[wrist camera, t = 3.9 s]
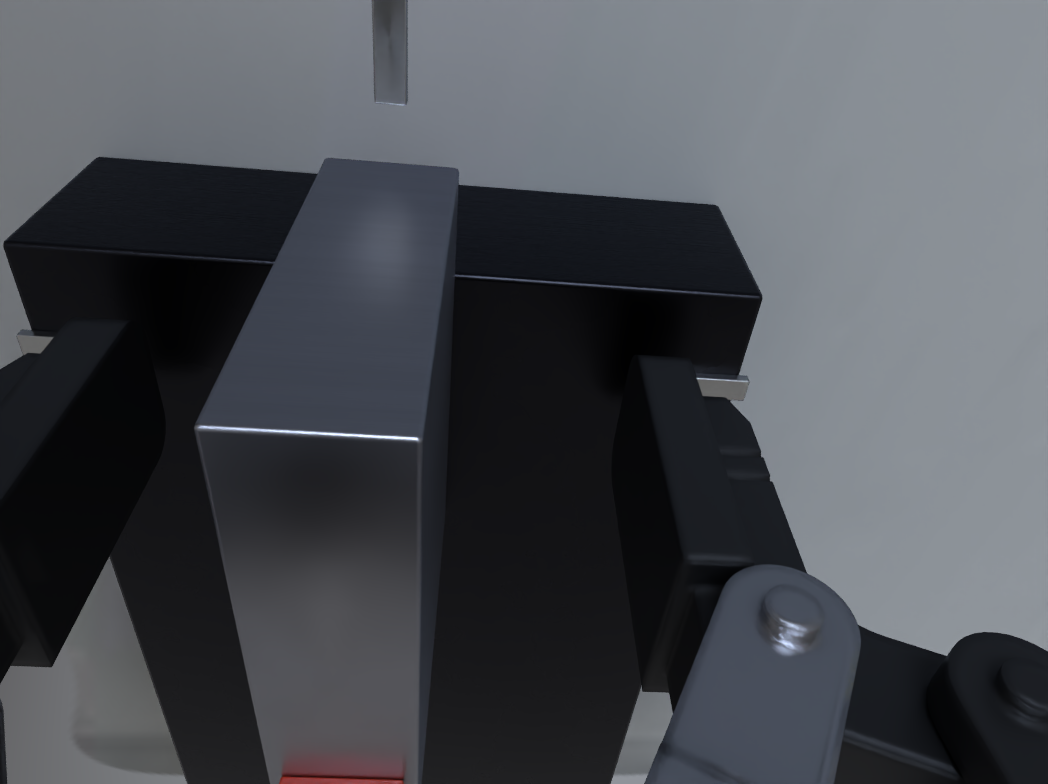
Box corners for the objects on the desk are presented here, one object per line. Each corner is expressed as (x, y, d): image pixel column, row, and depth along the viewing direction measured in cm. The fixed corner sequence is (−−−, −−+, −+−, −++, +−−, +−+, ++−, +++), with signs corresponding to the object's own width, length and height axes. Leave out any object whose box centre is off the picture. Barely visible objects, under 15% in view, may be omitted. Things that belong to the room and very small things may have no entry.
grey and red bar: (324, 156, 9) (177, 449, 5) (459, 166, 10) (420, 462, 5) (347, 509, 13) (272, 849, 9) (445, 515, 13) (415, 852, 9)
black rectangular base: (22, -116, 10) (-135, -84, 8) (788, -40, 11) (870, 12, 8) (228, 711, 22) (192, 830, 20) (590, 723, 23) (600, 839, 20)
